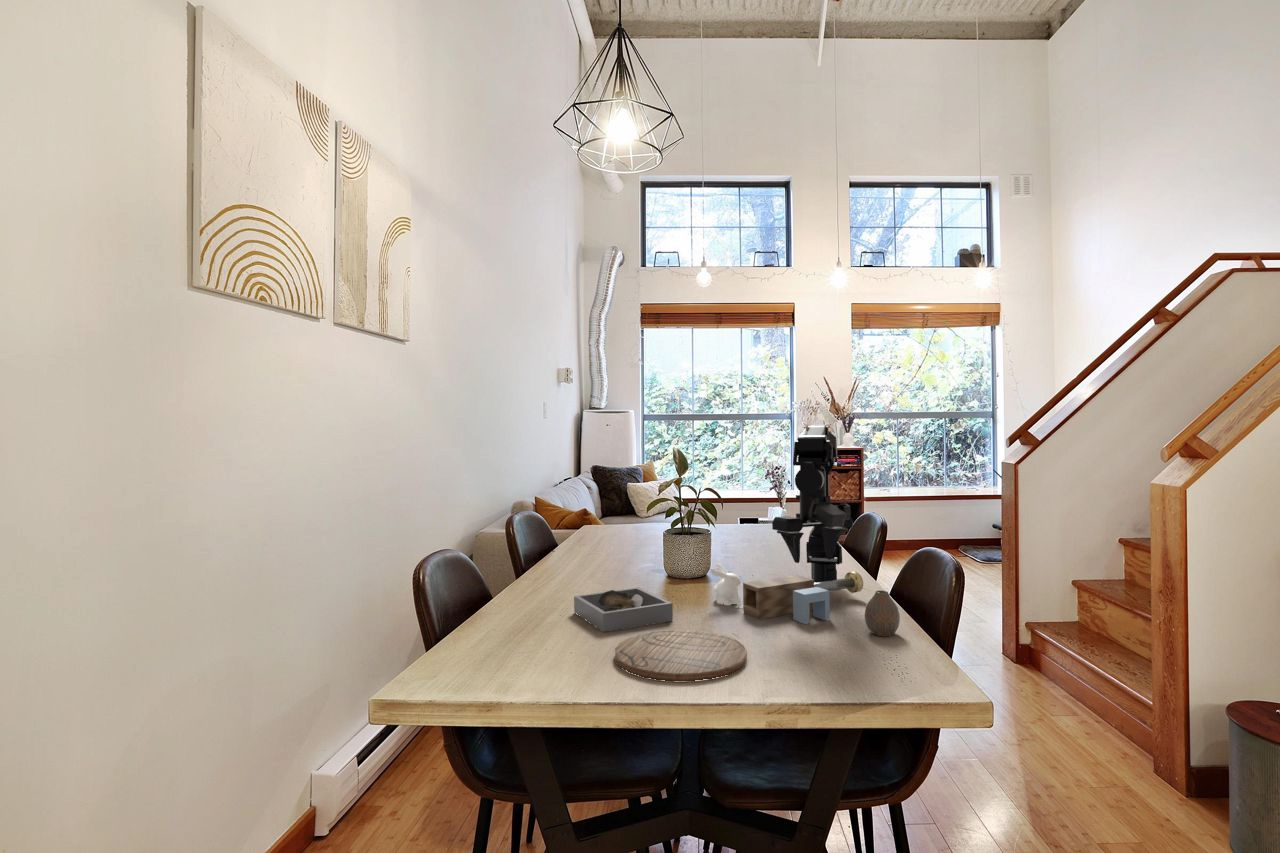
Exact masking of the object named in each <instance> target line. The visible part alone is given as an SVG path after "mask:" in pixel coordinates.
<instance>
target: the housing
mask: <svg viewBox="0 0 1280 853" xmlns="http://www.w3.org/2000/svg"><path fill="white" fill-rule="evenodd" d="M807 588H814V580H813V579H812V578H809V577H805V576H803V575H799V574H795V575H794V574H793V575H789V576H780V577H774V578H767V579H759V580H753V581H748V582H747V581H745V582H742V594H743V595H742V596H743V598H742V600H743V603H742V606H743V609H742V612H744V614H745V613H746V615H748V616H751V617H753V618H755V619H758V620H763V619H767V618H773V617H780V616H785V615H791V614H793V591H794V590H801V589H807ZM809 608H810V611H813V602H812V603H809Z"/></svg>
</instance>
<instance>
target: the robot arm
mask: <svg viewBox="0 0 1280 853" xmlns="http://www.w3.org/2000/svg"><path fill="white" fill-rule="evenodd" d="M806 430H807V432H806V433H805V434H802V435H801V434H800V435H797V439H796V440H794V444H793V460H792V466H799V470H798V471H797V473H796V474H795V477H794V484H795V487H796V489H797V490H798V491H799V494H796V495H795V500H797V501H799V512H796V513H795V517H794V516H788V515H787V516H775V517H774V518H773V520H772V524H771V525H772V526H771V527H772V528H771V529H772V530H774V531H776V533H777V534H780V536H781V537H782V538H783V540H784V542H785V544H786V546H787V549H788V550H789V553H790V556H792V559H793V561H794V563H796V564H799V563H800V558H801V538H802V537H803V536H804V535H805V534H804V532H801V531H802V530H803V528H809V527H810V528H811V527H812V529H811V530H810V531H809V535H808V539H806V542H805V543H806V546H805V547H806V563H807V564H809V563H810V568H811V570H810V571H811V572H810V573H811V578H810V579H813V580H814V583H818V582H824V581H831V580H837V579H838V570H837V565H838V566H839V565H841V564H843V548H842V546H841V543H840V541H839V539H840V538H841V536H842V535H843V534H844V533H846V532H848V531H849V528H853V522H854V521H853V518H852V516H851V514H852V510H851V505H849V504H848V503H839V505H837V504H836V505H834V504H832V500H831V499H832V498H831V496H830V473H831V471H832V469H833V468H834V467H835V459H837V458H838V442H837V436H836V435H834V434H833V433H832V432H830V431H829V425H826V424H810V425H808V426H807V429H806Z"/></svg>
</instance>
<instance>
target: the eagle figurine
mask: <svg viewBox="0 0 1280 853" xmlns="http://www.w3.org/2000/svg"><path fill="white" fill-rule="evenodd" d="M604 592H605V593H603V594H602V595H601V596H600V597H599V600H598V602H599V603H600V605H602V606H618V607H619V608H616V610H622V609H628V608H635V607H640V606H641V604H642V603H643V598H642V597H641V596H640V595H638V594H635V595H634V596H633V597H632V599H631V595H630V594H629V596H628V595H627V594H626V593H625V592H623V593H622V592H617V591H615V590H614V589H610V590H607V591H604Z"/></svg>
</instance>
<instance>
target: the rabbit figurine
mask: <svg viewBox="0 0 1280 853" xmlns="http://www.w3.org/2000/svg"><path fill="white" fill-rule="evenodd" d="M715 567H716V568H717V569H718V570H717V569H715V568H713V567H711V568H710V569H709V572H710V574H712V575H713V576H715V577H717V578H718V577H719V578H721V579H720V580H719V581H718V582H717V583H716V584H715V585H714V586H713V596H714V598H715V600H716V604H717V603H718V605H723V604H724V606H732V605H731V604H737V605H736V606H734V608H736V609H738V607H739V609H740V608H741V609H742V608H743V603H742V601H741V597H740V594H739V586H740V585H741V579H740V577H739V576H738V575H737V574H735V573H732V572H728V571H729V570H728V568H725V567H724V565H723V566H722V564H720V563H716V564H715Z"/></svg>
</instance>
